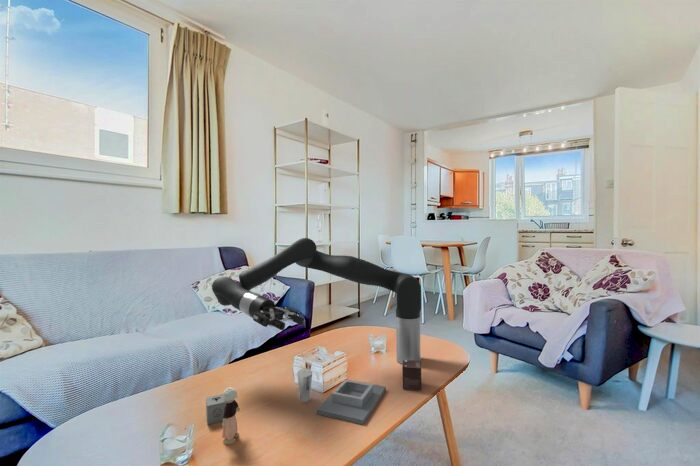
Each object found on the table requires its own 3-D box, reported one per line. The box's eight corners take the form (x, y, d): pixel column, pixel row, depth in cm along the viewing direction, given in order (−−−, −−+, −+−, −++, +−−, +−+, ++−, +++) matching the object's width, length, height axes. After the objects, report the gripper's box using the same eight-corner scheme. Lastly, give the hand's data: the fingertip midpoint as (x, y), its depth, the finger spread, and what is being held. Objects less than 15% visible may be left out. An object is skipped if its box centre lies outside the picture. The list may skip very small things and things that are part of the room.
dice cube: (225, 410, 95) (225, 393, 95) (227, 419, 90) (226, 401, 90) (206, 415, 93) (206, 397, 93) (207, 424, 88) (207, 406, 88)
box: (421, 391, 104) (421, 368, 104) (402, 389, 105) (402, 366, 105) (421, 382, 110) (421, 360, 110) (403, 381, 111) (402, 359, 111)
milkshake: (316, 395, 102) (315, 363, 102) (308, 404, 97) (308, 370, 97) (303, 393, 104) (302, 361, 104) (294, 402, 99) (294, 368, 99)
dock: (345, 382, 111) (345, 371, 111) (385, 390, 105) (385, 378, 105) (316, 413, 92) (316, 400, 92) (363, 424, 87) (362, 410, 87)
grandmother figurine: (226, 430, 85) (225, 381, 85) (242, 429, 85) (241, 380, 85) (217, 450, 77) (216, 396, 77) (234, 449, 78) (233, 395, 78)
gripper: (241, 297, 102) (279, 316, 93) (274, 293, 114) (311, 309, 106) (237, 321, 102) (274, 341, 94) (270, 314, 114) (306, 331, 106)
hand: (293, 324), depth 100 cm, fingers open, 8 cm apart
